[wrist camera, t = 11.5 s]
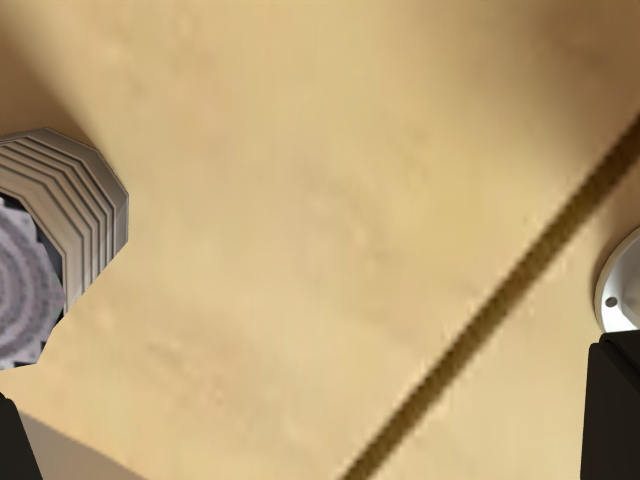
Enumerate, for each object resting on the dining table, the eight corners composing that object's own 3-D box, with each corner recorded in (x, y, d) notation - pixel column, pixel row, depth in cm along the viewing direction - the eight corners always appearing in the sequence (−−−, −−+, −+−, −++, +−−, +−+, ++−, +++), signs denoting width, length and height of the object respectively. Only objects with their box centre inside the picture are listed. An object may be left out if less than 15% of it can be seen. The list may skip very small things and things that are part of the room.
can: (103, 305, 43) (26, 409, 31) (-51, 243, 41) (-190, 329, 30) (156, 170, 39) (90, 233, 28) (-11, 95, 37) (-153, 130, 26)
